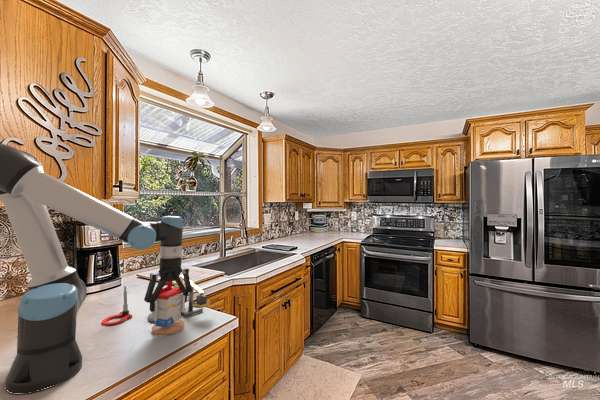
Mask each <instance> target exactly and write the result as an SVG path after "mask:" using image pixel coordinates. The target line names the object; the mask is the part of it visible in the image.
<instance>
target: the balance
mask: <svg viewBox="0 0 600 400" xmlns="http://www.w3.org/2000/svg"><path fill="white" fill-rule="evenodd" d="M179 277H180V279H181V281H182V283H183V285H184V287H185V289H186V286H185V282H184V278H183V274H182V275H181V274H180V275H179ZM190 283H191V287H192V292H189V294H188V306H187V307H186V306H185V312H183V313H182V312H181V317H184V318H187V317H191V316H193V315H197V314H200V313H203V309H204V308H207V307H209V306H210V305H211V301H210V300H207V298H208V296H207V295H206V294H205V291H204V290H203V289H201V288H200V287H199V286H198V285H197V284H195V282H193V281H192V280H191V279H190ZM173 288H179V287H178V285H177V284H174V285H173ZM194 291H195V292H196V293H197V294H199V295H196V299H195V300H196V301H194V294H195V293H194Z"/></svg>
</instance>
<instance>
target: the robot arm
mask: <svg viewBox="0 0 600 400" xmlns="http://www.w3.org/2000/svg"><path fill="white" fill-rule="evenodd" d="M0 202H1V203H2V204H3V206H4V209H5V210H4V211H5V212H6V214H7V217H8V220H9V224H10V225H11V228H12V230H13V232H14V235H15V239H16V240H17V243H18V246H19V248H20V250H21V254H22V257H23V259H24V261H25V263H26V266H27V269H28V271H29V274H30V276H31V280H30V281H29V282H28V283H27V285H26V286H27V289H28V291H26V292H25V293H24V294H23V295H22V296H21V297H20V299H19V303H18V306H17V313H18V318H17V336H16V337H17V338H16V339H17V340H16V341H17V342H16V355H15V358H14V360H13V362H12V364H11V366H10V369H9V371H8V373H7V375H6V378H5V387H4V388H6V390H8V391H9V392H12V393H27V394H30V393H29V392H33V393H36V392H35V391H37V390H41V389H44V388H47V387H50V386H53V385H55V386H57V385H59V383H60V384H61V382H62V383H64V382H66V381H67V380H69V379H71V378H72V377H74V376H75V375H76V374H77V373H78V372H79V371H80V370H81V369H82V366H83V354H82V352H81V350H80V348H79V347H80V346H79V345H78V342H77V341H76V334H77V333H76V332H77V316H78V312H79V310H80V309H81V307H82V305H83V303H84V301H85V300H86V298H87V297H86V296H87V286H86V284H85V282H84V281H83V280H82V279H81V278H80V276H79V274H78V271H77V269H76V268H74V267H71V266H70V265H68V261H67V259H66V256H65V253H64V250H63V247H62V245H61V242H60V239H59V237H58V235H57V232H56V229H55V227H54V224H53V221H52V218H51V215H50V213H49V210H48V208H50V209H52V210H55V211H56V212H58V213H61V214H63V215H65V216H67V217H70V218H71V219H74V220H76V221H78V222H81V223H82V224H85V225H87V226H89V227H92V228H93V229H96V230H99V231H100V232H102V233H105V234H107V235H109V236H111V237H114V238H115V239H118V240H120V241H121V242H123V243H124V244H128V245H130V246H131V247H132V248H134V249H136V250H138V251H139V250H140V251H141V250H142V251H143V250H147V249H149V248H151V247H152V246H153V245H154V244H155V243H157V242H160V249H159V257H160V258H159V266H158V267H159V270H158V272H156V273H153V272H152V273H150V274H149V281H148V282H149V283H148V286H147V289H146V293H145V296H144V299H143V300H144V301H145V302H146V303H147V304H149V311H150V313H152V319H153V320H154V321H157V309H158V302H156V300H157V298H158V296H159V294H160V292H161V290H162V289H163V288H165V286H166V285H165V284H166V283H167V282H170V281H172V282H175V283H176V285H178V287H179V288H180V289H181V290H182V300H181V312H182V313H183V312H185V308H186V303H187V302H188V296H189V292H192V287H191V283H190V280H191V279H190V275H189V272H190V268H187V267H182V254H183V233H184V231H183V230H184V226H183V225H184V224H183V218H182V217H181V216H177V215H167V216H166V215H165V216H161V219H160V220H159V221H140V220H138V219H137V218H134V217H133V216H130V215H129V214H127V213H125V212H122V211H120V210H119V209H116V208H115V207H113V206H111V205H109V204H107V203H105V202H103V201H100V199H97V198H95V197H93V196H91V195H89V194H88V193H85V192H83V191H82V190H80V189H77V188H76V187H74V186H72V185H69V184H67V183H66V182H64V181H62V180H60V179H58V178H56V177H55V176H52V175H50V174H49V173H46V172H45V169H44V167H43V165H42V163H41V161H39V159H37V157H36V156H34V155H33V154H31V153H28V152H26V151H23V150H19V149H18V148H16V147H13V146H11V145H8V144H4V143H0ZM181 274H182V275H183V278H184V280H183V283H185V286H186V289H185V287H184V285H183V283H182V278H180V275H181ZM158 277H159V280H158V283H157V279H158ZM156 284H157V285H156ZM164 285H165V286H164ZM155 286H156V287H155ZM157 287H158V288H157ZM63 381H64V382H63ZM56 384H57V385H56ZM53 387H54V386H53ZM50 388H51V387H50ZM47 389H48V388H47ZM6 390H5V391H6ZM44 390H45V389H44ZM41 391H42V390H41ZM37 392H38V391H37Z"/></svg>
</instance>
